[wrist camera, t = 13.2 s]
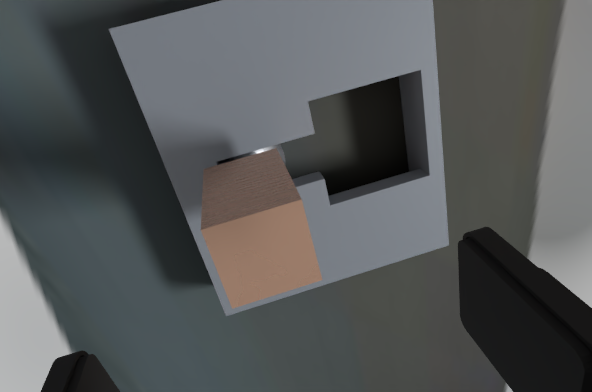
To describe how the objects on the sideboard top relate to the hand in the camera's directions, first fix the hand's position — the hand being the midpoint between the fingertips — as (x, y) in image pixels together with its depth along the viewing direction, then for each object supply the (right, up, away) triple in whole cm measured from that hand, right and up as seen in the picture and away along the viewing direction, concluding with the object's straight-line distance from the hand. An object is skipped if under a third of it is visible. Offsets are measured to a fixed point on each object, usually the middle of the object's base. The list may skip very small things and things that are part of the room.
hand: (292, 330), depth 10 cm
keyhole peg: (-3, +6, +14) cm, 16 cm away
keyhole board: (0, +7, +15) cm, 16 cm away
